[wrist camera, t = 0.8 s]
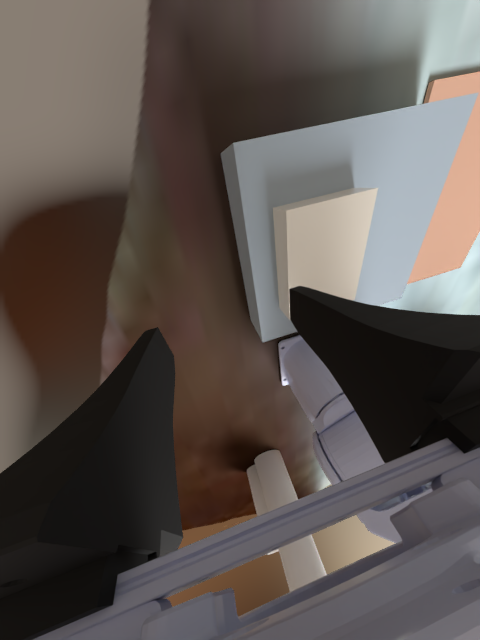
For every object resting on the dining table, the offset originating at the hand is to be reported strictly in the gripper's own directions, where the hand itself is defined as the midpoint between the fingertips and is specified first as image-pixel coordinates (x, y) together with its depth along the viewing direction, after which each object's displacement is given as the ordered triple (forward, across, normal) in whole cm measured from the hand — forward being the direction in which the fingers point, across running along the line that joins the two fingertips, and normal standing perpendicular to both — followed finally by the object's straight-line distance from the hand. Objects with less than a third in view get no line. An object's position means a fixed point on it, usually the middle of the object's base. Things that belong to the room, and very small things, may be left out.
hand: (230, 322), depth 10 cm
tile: (+5, -8, 0) cm, 10 cm away
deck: (+9, -11, 0) cm, 14 cm away
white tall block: (+10, 0, +51) cm, 52 cm away
